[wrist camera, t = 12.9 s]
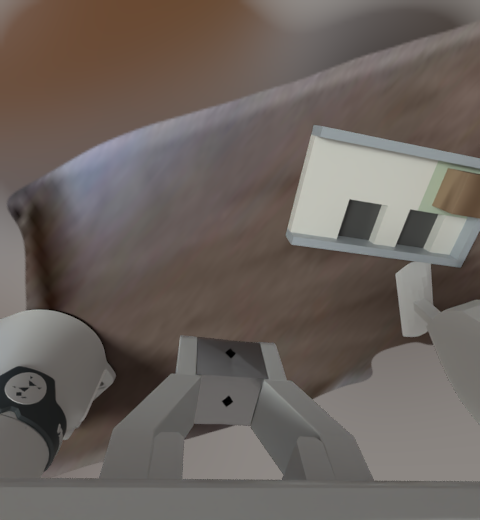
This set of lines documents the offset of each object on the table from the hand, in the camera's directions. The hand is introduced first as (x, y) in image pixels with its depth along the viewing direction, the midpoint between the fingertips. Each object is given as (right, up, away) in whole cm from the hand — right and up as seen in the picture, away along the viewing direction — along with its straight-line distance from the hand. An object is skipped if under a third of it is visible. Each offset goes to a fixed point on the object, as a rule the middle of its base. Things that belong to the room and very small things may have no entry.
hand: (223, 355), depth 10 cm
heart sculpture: (+26, -3, +37) cm, 45 cm away
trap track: (+18, +11, +29) cm, 36 cm away
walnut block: (+26, +11, +28) cm, 40 cm away
